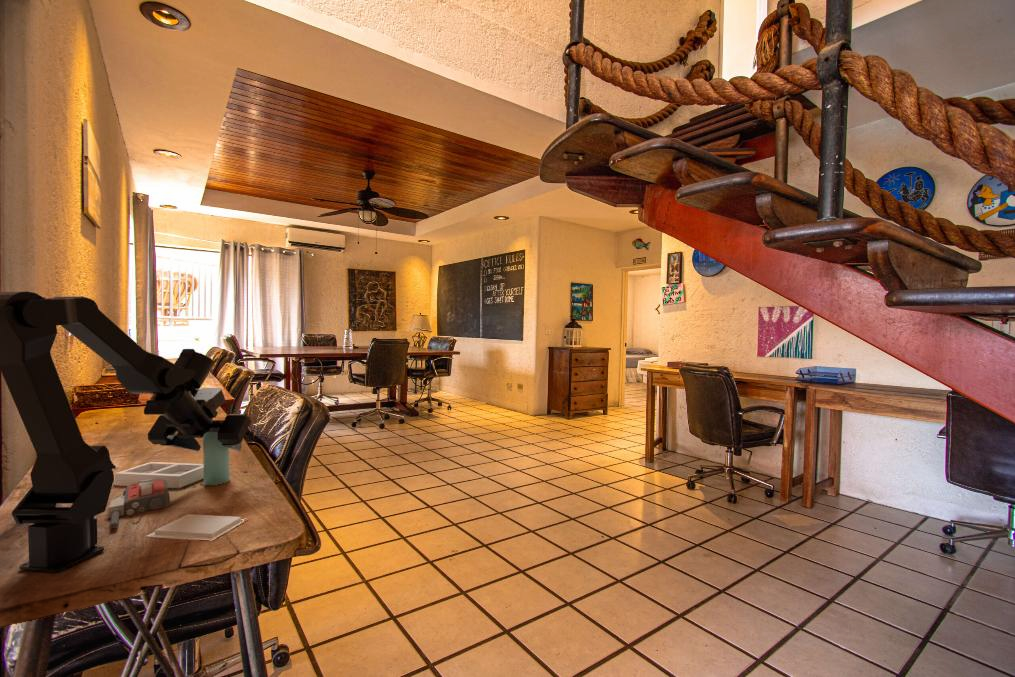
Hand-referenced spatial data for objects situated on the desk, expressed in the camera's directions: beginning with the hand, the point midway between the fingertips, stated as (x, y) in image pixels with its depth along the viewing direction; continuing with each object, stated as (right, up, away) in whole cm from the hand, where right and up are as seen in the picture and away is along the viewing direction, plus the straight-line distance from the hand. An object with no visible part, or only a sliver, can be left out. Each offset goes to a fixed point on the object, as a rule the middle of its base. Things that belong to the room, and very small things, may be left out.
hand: (219, 449), depth 99 cm
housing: (-13, -7, +1) cm, 15 cm away
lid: (+12, -8, -24) cm, 28 cm away
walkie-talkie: (-5, -8, -15) cm, 18 cm away
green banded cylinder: (0, -7, -1) cm, 7 cm away
